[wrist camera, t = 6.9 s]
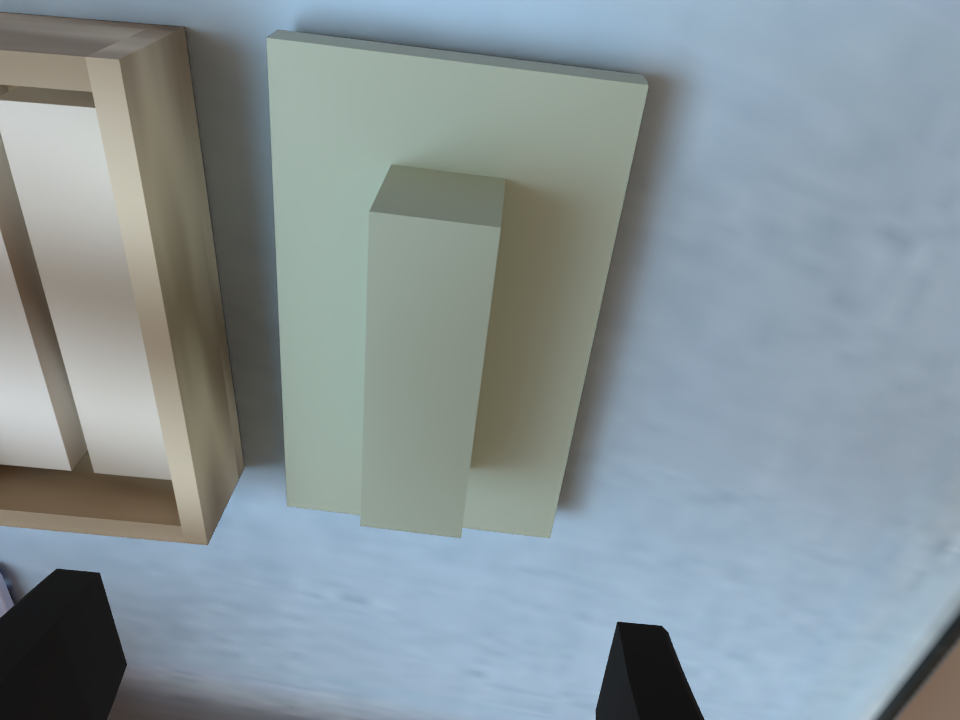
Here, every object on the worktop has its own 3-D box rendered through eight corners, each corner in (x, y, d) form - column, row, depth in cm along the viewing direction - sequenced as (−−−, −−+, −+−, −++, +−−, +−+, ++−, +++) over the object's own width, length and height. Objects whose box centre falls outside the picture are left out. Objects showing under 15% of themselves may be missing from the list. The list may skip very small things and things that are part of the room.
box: (244, 468, 23) (207, 544, 20) (7, 446, 23) (-59, 520, 20) (184, 26, 16) (119, 59, 14) (-148, 0, 16) (-273, 28, 14)
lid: (549, 500, 23) (551, 611, 20) (300, 470, 23) (260, 575, 20) (640, 67, 16) (665, 124, 13) (287, 22, 16) (222, 69, 13)
